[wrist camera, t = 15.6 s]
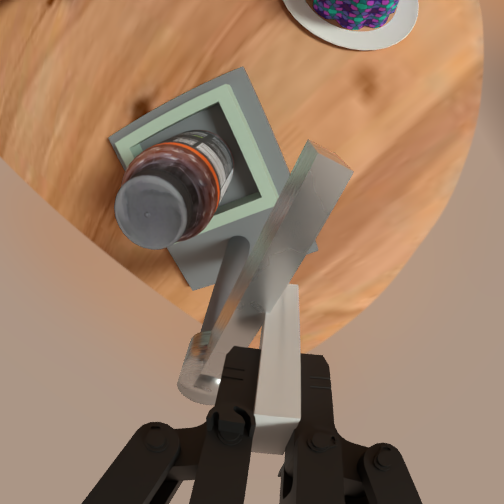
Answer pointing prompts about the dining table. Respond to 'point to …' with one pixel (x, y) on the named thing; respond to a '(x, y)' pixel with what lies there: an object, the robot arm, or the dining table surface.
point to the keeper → (267, 267)
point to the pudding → (357, 21)
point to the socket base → (241, 185)
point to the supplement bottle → (173, 189)
